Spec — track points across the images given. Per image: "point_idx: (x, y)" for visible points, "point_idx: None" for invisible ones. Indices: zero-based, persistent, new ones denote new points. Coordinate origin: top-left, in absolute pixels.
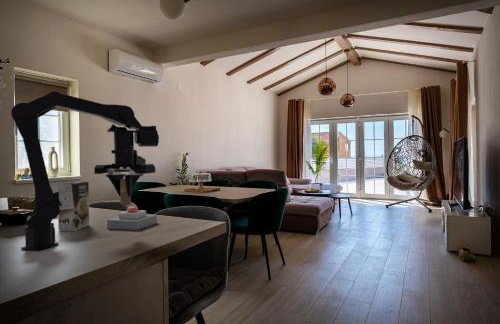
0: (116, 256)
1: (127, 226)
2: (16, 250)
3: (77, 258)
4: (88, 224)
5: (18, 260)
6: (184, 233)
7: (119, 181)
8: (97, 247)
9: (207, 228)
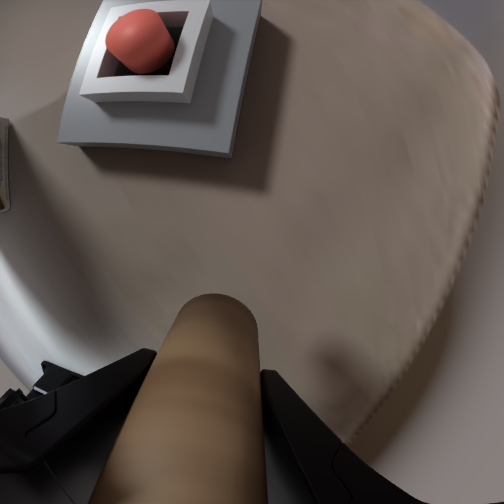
0: None
1: (172, 149)
2: None
3: None
4: (5, 125)
5: None
6: (448, 218)
7: (79, 492)
8: None
9: (487, 145)
